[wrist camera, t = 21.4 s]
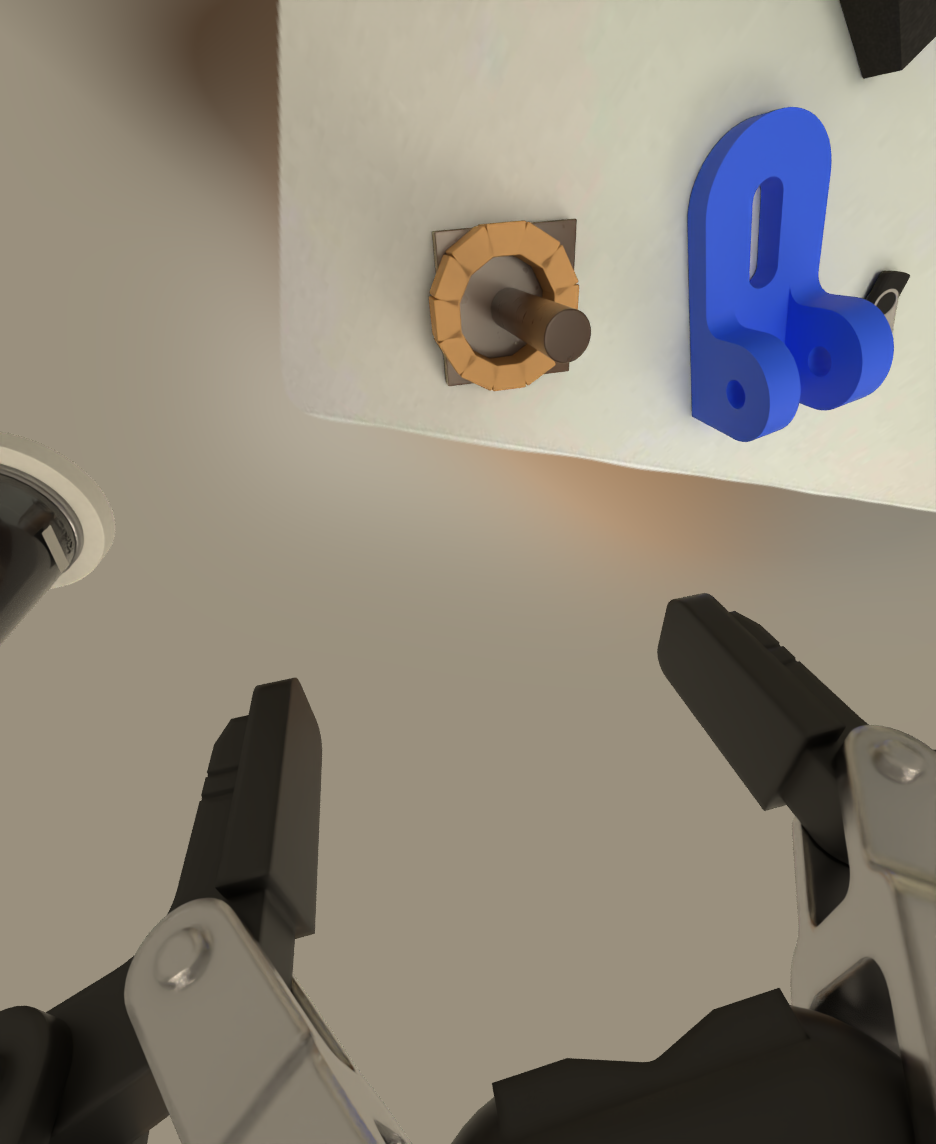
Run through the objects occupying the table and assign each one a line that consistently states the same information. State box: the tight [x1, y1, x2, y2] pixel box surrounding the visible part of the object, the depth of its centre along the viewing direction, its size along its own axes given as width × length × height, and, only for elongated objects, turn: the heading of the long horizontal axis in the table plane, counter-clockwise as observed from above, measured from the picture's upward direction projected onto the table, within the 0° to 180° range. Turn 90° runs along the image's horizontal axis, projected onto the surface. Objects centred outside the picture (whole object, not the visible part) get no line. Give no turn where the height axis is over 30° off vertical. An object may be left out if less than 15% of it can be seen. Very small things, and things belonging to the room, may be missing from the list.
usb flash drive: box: [865, 271, 910, 332], centre depth 39 cm, size 9×5×1 cm, turn 173°
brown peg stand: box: [432, 219, 591, 386], centre depth 28 cm, size 9×9×12 cm
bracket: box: [688, 107, 894, 442], centre depth 31 cm, size 18×8×9 cm, turn 18°
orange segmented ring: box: [429, 221, 579, 391], centre depth 31 cm, size 9×9×2 cm
